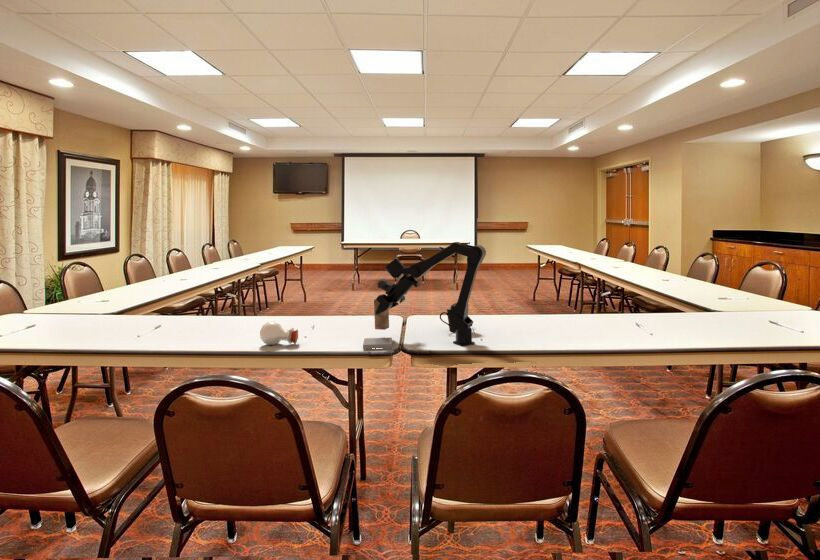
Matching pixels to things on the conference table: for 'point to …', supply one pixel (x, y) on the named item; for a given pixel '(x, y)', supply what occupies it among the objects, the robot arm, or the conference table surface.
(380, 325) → the walnut block
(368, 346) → the slate slab
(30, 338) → the conference table surface
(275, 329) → the potion bottle
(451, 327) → the coffee mug
